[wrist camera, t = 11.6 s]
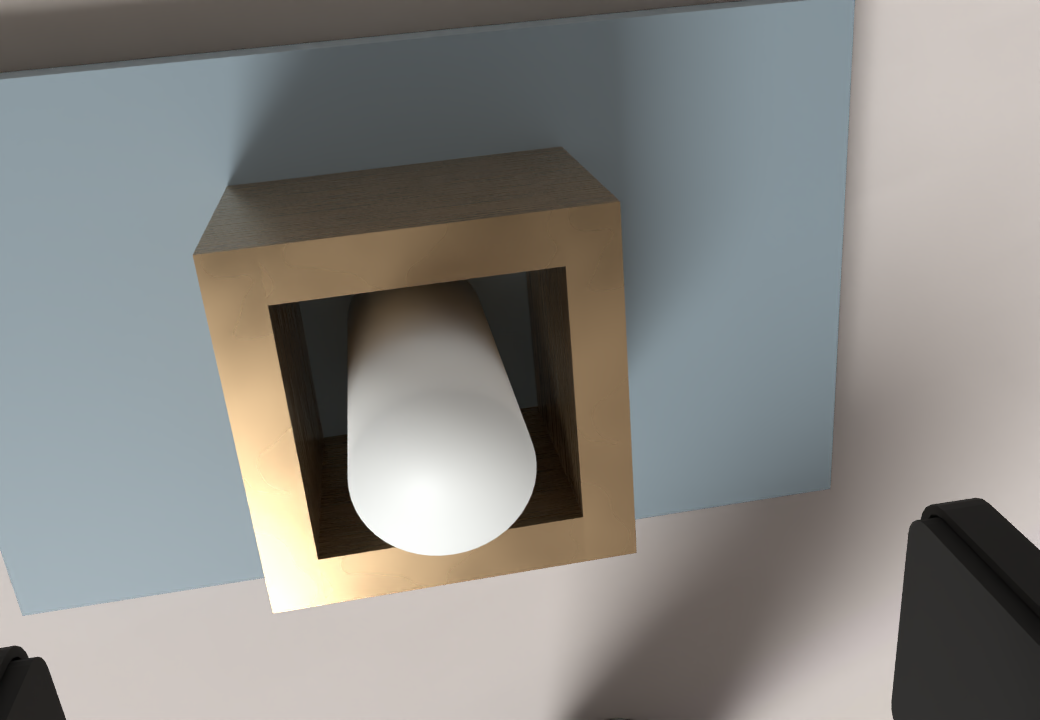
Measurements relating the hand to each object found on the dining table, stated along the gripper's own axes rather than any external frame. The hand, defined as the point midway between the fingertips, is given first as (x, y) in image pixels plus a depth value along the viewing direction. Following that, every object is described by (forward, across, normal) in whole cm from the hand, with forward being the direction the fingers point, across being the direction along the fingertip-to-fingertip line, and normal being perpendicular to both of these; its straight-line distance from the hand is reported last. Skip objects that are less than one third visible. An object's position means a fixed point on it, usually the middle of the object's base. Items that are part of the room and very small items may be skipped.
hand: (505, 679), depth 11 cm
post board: (+14, 0, +1) cm, 14 cm away
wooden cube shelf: (+12, 0, +1) cm, 12 cm away
